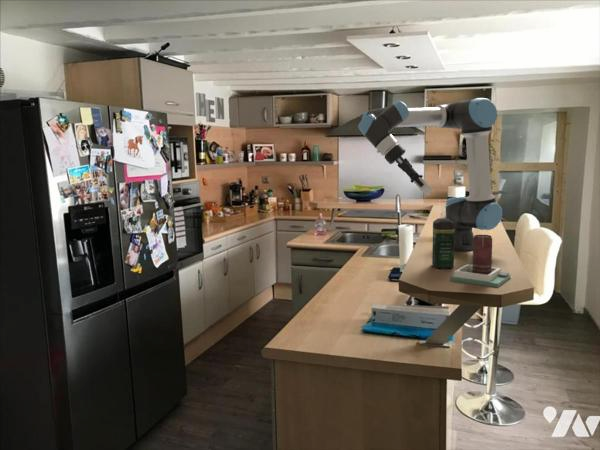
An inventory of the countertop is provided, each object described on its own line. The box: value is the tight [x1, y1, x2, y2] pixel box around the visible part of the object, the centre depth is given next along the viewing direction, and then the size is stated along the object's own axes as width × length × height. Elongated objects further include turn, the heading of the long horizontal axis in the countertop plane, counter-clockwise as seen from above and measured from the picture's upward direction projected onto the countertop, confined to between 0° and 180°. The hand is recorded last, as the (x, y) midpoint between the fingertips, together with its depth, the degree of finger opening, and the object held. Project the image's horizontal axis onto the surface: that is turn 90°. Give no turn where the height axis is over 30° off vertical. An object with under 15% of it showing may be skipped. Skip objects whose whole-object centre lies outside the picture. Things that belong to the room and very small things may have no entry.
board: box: [449, 264, 511, 288], centre depth 169 cm, size 14×16×3 cm
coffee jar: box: [431, 217, 455, 270], centre depth 188 cm, size 10×8×19 cm
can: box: [472, 234, 493, 275], centre depth 169 cm, size 6×6×14 cm
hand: (430, 193), depth 179 cm, fingers open, 13 cm apart
